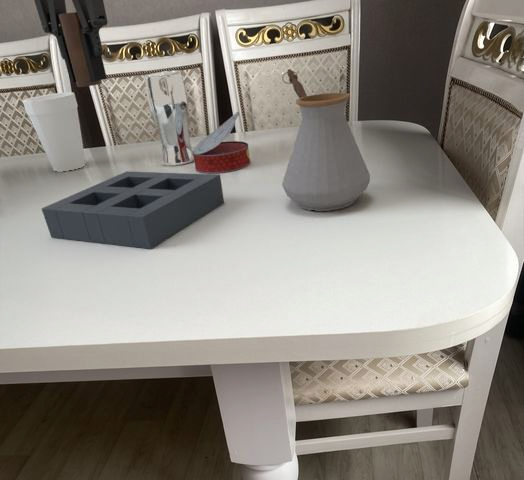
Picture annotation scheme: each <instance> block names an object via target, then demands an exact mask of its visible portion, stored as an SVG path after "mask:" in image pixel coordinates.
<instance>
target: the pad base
mask: <svg viewBox="0 0 524 480" xmlns="http://www.w3.org/2000/svg"><path fill="white" fill-rule="evenodd" d="M223 204H225V199H224V192H223V184H222V178H221V174H218V173H185V172H183V173H181V172H180V173H179V172H158V171H156V172H153V171H124V172H122V173H119V174H116V175H115V176H112V177H110V178H108V179H106V180H103V181H101V182H98V183H96V184H93V185H92V186H90V187H88V188H85V189H83V190H81V191H78V192H76V193H74V194H71V195H69V196H67V197H64V198H62V199H60V200H57V201H55V202H53V203H50V204H48V205H46V206H44V207H42V208H41V211H42V215H43V218H44V221H45V223H46V225H47V229H48V232H49V234H50V237H51V238H53V239H63V240H72V241H79V242H88V243H89V242H90V243H97V244H104V245H105V244H106V245H112V246H113V245H114V246H122V247H130V248H139V249H147V250H148V249H149V250H152V249H153V248H155V247H156V246H158V245H160V244H161V243H163V242H164V241H166V240H167V239H169V238H171V237H172V236H175V234H177V233H179V232H180V231H182V230H183V229H185V228H186V227H188V226H190V225H191V224H193V223H195V222H196V221H198V220H199V219H201V218H203V217H204V216H206V215H207V214H208V213H210V212H212V211H214V210H215V209H216V208H218V207H219V206H221V205H223Z"/></svg>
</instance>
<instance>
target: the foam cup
mask: <svg viewBox="0 0 524 480" xmlns="http://www.w3.org/2000/svg"><path fill="white" fill-rule="evenodd" d="M22 104H23V107H24V110H25V114H26V116H28V118H29V121H30V122H31V124H32V126H33V128H34V131H35V133H36V135H37V137H38V139H39V141H40V144H41V147H42V148H43V151H44V153H45V155H46V157H47V159H48V161H49V164H50V166H51V168H52V170H53V171H54V172H55V171H57V172H56V173H64V172H63V171H66V172H70V171H69V170H72V171H75V170H74V169H76V170H79V169H78V168H80V169H81V167H82V168H84V167H86V165H85V164H86V158H85V157H86V156H85V151H84V144H83V143H84V142H83V137H82V131H81V123H80V117H79V111H78V107H79V105H78V102H77V99H76V95H75V92H72V91H71V92H67V91H66V92H57V93H48V94H43V95H38V96H32V97H29V98H25V99H23V100H22ZM83 166H84V167H83Z"/></svg>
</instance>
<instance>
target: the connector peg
mask: <svg viewBox="0 0 524 480" xmlns="http://www.w3.org/2000/svg"><path fill="white" fill-rule="evenodd" d="M58 16H59V19H60V23H61V27H62V31H63V34H64V38H65V42H66V45H67V49H68V53H69V57H70V60H71V64H72V68H73V72H74V75H75V79H76V82H75V83H76V86H77V88H84V87H86V88H87V87H93V86H98V85H102V84H103V80H99V81H92V79H91V75H90V71H89V67H88V63H87V59H86V55H85V51H84V47H83V43H82V39H81V35H80V34H87V33H81V31H80V30H81V29H83V28H82V25H81V22H80V20H79V17H78V15H77V12H76V11H74V12H67V13H65V14H59V15H58Z"/></svg>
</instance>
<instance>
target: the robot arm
mask: <svg viewBox="0 0 524 480" xmlns="http://www.w3.org/2000/svg"><path fill="white" fill-rule="evenodd" d="M33 1H34V5H35V7H36V11H37V14H38V17H39V21H40V23H41V24H40V25H41V27H42V30H43V32H44V33H46V34H48V33H49V34H51V35H52V36H54V37H55V40H56V42H57V46H58V49H59V52H60V53H59V54H60V56H61V58H62V60H64V63H65V66H66V70H67V74H68V77H69V81H70V83H71V84H73V83H74V84H75V83H76V79H75V75H74V72H73V68H72V64H71V60H70V57H69V53H68V49H67V45H66V42H65V38H64V34H63V31H62V27H61V23H60V19H59V16H58V15H59V14H65V13H68V12H67V5H66V0H33ZM71 1H72V4H73V7H74V10H75V12H77V15H78V17H79V20H80V22H81V25H82V28H83V29H81V30H80V31H81V33H87V34H80V35H81V39H82V43H83V47H84V51H85V55H86V59H87V63H88V67H89V71H90V75H91V79H92V81H99V80H102V81H103V80H107V79H108V77H107V73H106V69H105V65H104V61H103V56H104V49H103V45H102V40H101V36H100V30H101V29H102V28H103V27H105V26H107V25H108V18H107V17H108V16H107V14H106V13H107V12H106V8H105V2H104V0H71Z"/></svg>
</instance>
